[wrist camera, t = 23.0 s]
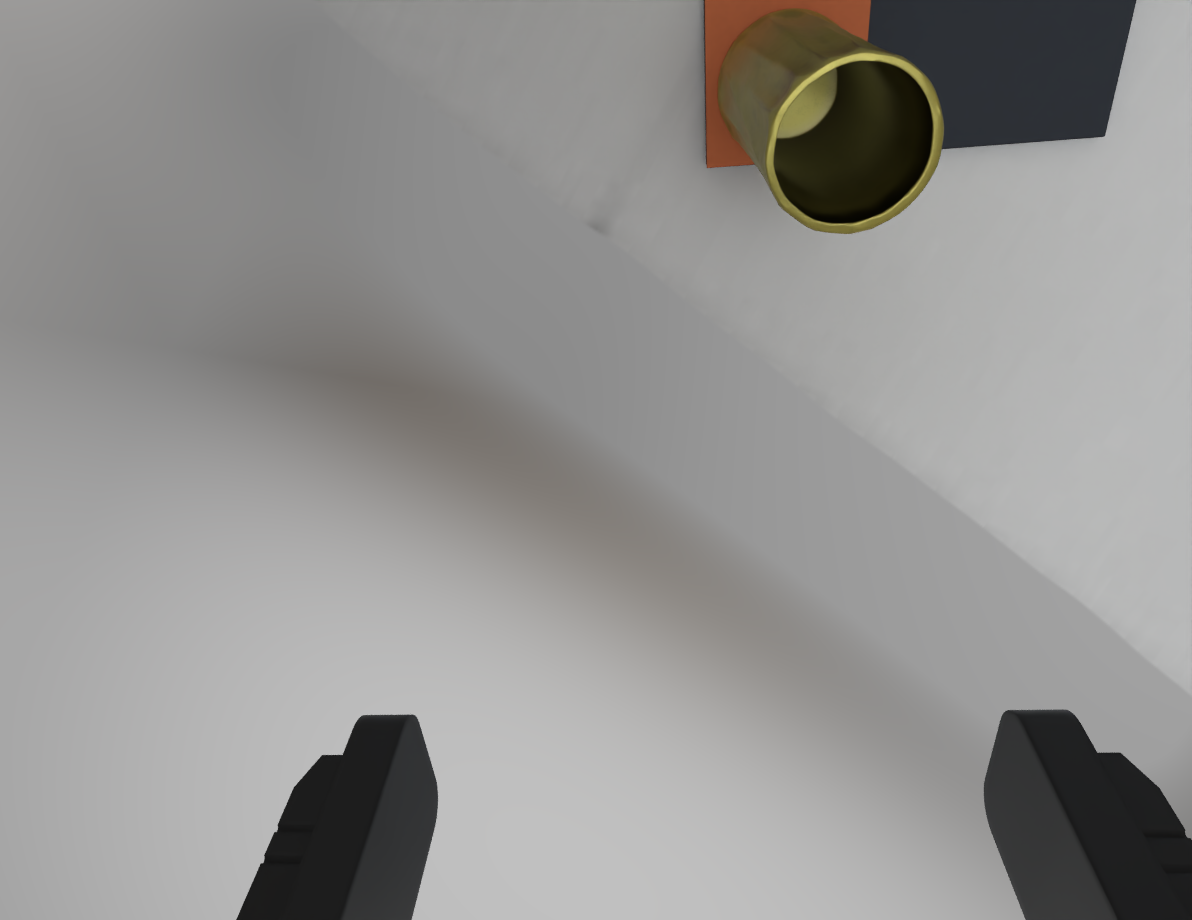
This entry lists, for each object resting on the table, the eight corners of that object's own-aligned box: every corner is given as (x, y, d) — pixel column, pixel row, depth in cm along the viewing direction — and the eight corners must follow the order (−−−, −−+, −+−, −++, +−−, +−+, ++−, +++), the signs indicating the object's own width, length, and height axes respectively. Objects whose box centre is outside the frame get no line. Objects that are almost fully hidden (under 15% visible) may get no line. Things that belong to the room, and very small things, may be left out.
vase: (689, 100, 36) (707, 168, 24) (783, -26, 34) (858, -20, 21) (787, 184, 38) (850, 287, 26) (885, 70, 35) (1007, 126, 23)
